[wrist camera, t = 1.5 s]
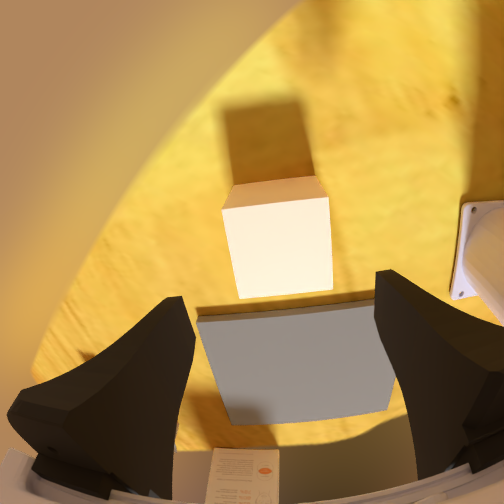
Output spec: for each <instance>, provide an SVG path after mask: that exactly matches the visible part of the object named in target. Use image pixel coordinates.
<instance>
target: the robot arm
mask: <svg viewBox="0 0 504 504" xmlns="http://www.w3.org/2000/svg"><path fill="white" fill-rule="evenodd" d="M473 207H474V210H473V211H472V212H471V210H472V208H473ZM461 291H462V292H461ZM460 292H461V293H460ZM459 293H460V294H459ZM476 295H479V297H480V298H481V299H482V300H483V301H484V303H485V304H486V305H487V306H488V308H489V309H490V310H491V311H492V312H493V314H494V315H495V316H496V318H497V319H498V320H499V321H500V323H501V324H502V325H503V327H502V326H499V325H496V324H493V323H490V322H487V321H484V320H481V319H479V318H476V317H474V316H471V315H469V314H467V313H465V312H463V311H461V310H458V309H456V308H454V307H452V306H450V305H449V304H447V303H445V302H443V301H441V300H440V299H438V298H436V297H435V296H433V295H431V294H430V293H428V292H426V291H425V290H423V289H422V288H420V287H418V286H417V285H415V284H414V283H412V282H411V281H409V280H408V279H406V278H405V277H403V276H401V275H400V274H398V273H397V272H395V271H393V270H391V269H390V270H384V271H377V272H376V280H375V302H374V320H375V323H376V327H377V330H378V333H379V337H380V340H381V342H382V344H383V347H384V349H385V351H386V354H387V356H388V358H389V361H390V363H391V365H392V368H393V370H394V372H395V375H396V377H397V380H398V382H399V385H400V387H401V390H402V393H403V397H404V401H405V405H406V409H407V413H408V417H409V422H410V427H411V431H412V436H413V442H414V449H415V455H416V464H417V474H418V481H416V482H413V483H409V484H406V485H402V486H398V487H394V488H390V489H386V490H382V491H378V492H373V493H368V494H363V495H358V496H353V497H347V498H341V499H334V500H328V501H320V502H311V503H300V504H504V200H497V201H481V202H467V203H464V204H463V206H462V208H461V218H460V229H459V238H458V246H457V253H456V260H455V267H454V273H453V279H452V284H451V290H450V297H451V298H452V299H453V300H457V299H462V298H467V297H471V296H476ZM195 341H196V336H195V333H194V331H193V328H192V325H191V322H190V319H189V316H188V313H187V310H186V307H185V304H184V301H183V298H182V296H176V297H167V298H166V299H164V300H163V301H162V302H160V303H159V304H158V305H157V306H156V307H155V308H154V309H152V310H151V311H150V312H149V313H148V314H147V315H146V316H145V317H144V318H143V319H141V320H140V321H139V322H138V323H137V324H136V325H135V326H134V327H133V328H131V329H130V330H129V331H128V332H127V333H125V334H124V335H123V336H122V337H121V338H119V339H118V340H117V341H116V342H114V343H113V344H112V345H111V346H109V347H108V348H106V349H105V350H104V351H102V352H101V353H99V354H98V355H96V356H95V357H93V358H92V359H90V360H88V361H87V362H85V363H83V364H81V365H80V366H78V367H76V368H74V369H73V370H71V371H69V372H67V373H65V374H63V375H61V376H58V377H56V378H54V379H51V380H49V381H46V382H44V383H41V384H38V385H35V386H32V387H30V388H27V389H23V390H21V391H20V393H19V394H18V396H17V398H16V399H15V401H14V402H13V404H12V406H11V407H10V409H9V410H8V412H7V417H8V420H9V422H10V424H11V426H12V427H13V428H14V429H15V431H16V432H17V433H18V434H19V435H20V436H21V437H22V438H23V439H24V440H25V441H26V442H27V443H28V444H29V445H30V446H31V447H32V448H33V449H34V450H35V451H37V453H38V455H37V457H36V459H34V458H33V457H31V456H30V455H28V454H26V453H23V452H21V451H18V450H16V449H14V448H9V450H8V451H7V454H6V455H5V457H4V459H3V461H2V463H1V465H0V504H199V503H188V502H179V501H172V470H173V454H174V444H175V434H176V427H177V420H178V414H179V409H180V405H181V401H182V398H183V394H184V390H185V387H186V383H187V380H188V376H189V373H190V369H191V365H192V362H193V356H194V349H195Z"/></svg>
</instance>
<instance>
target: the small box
mask: <svg viewBox="0 0 504 504" xmlns="http://www.w3.org/2000/svg"><path fill="white" fill-rule="evenodd" d="M278 503H279V450H278V449H268V450H266V449H262V450H261V449H228V448H214V451H213V457H212V463H211V468H210V474H209V480H208V486H207V493H206V500H205V504H278Z"/></svg>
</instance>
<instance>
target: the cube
mask: <svg viewBox="0 0 504 504" xmlns="http://www.w3.org/2000/svg"><path fill="white" fill-rule="evenodd" d="M222 215H223V220H224V225H225V230H226V235H227V240H228V245H229V250H230V255H231V260H232V265H233V270H234V275H235V280H236V285H237V290H238V294H239V299H243V298H254V297H265V296H275V295H285V294H295V293H304V292H313V291H322V290H331V289H333V271H332V247H331V228H330V213H329V199H328V196H327V194H326V192H325V191H324V189H323V187H322V186H321V184H320V182H319V181H318V179H317V178H316V176H315V175H314V176H304V177H295V178H286V179H278V180H270V181H262V182H254V183H246V184H239V185H234V186H233V188H232V190H231V192H230V194H229V196H228V198H227V200H226V202H225V204H224V206H223V208H222Z"/></svg>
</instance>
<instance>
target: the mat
mask: <svg viewBox="0 0 504 504" xmlns="http://www.w3.org/2000/svg"><path fill="white" fill-rule="evenodd" d="M374 302H375V299H369V300H362V301H354V302H347V303H339V304H330V305H322V306H313V307H304V308H294V309H284V310H274V311H263V312H251V313H239V314H225V315H211V316H198V318H197V321H196V324H197V327H198V330H199V333H200V337H201V340H202V343H203V346H204V349H205V352H206V355H207V358H208V361H209V364H210V366H211V369H212V372H213V375H214V378H215V381H216V384H217V386H218V389H219V392H220V395H221V397H222V400H223V403H224V405H225V408H226V411H227V413H228V416H229V419H230V421H231V424H232V425H264V424H283V423H297V422H308V421H318V420H327V419H335V418H342V417H349V416H356V415H362V414H368V413H374V412H379V411H384V410H387V408H388V405H389V401H390V397H391V393H392V389H393V385H394V381H395V377H396V375H395V372H394V370H393V368H392V365H391V363H390V361H389V358H388V356H387V354H386V351H385V349H384V347H383V344H382V342H381V340H380V337H379V333H378V330H377V327H376V323H375V320H374Z"/></svg>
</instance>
